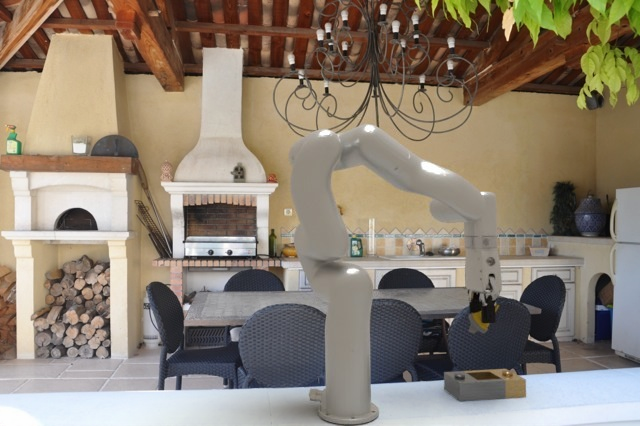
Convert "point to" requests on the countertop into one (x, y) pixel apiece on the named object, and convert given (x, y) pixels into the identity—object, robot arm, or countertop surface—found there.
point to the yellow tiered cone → (478, 322)
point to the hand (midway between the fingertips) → (482, 319)
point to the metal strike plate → (484, 384)
